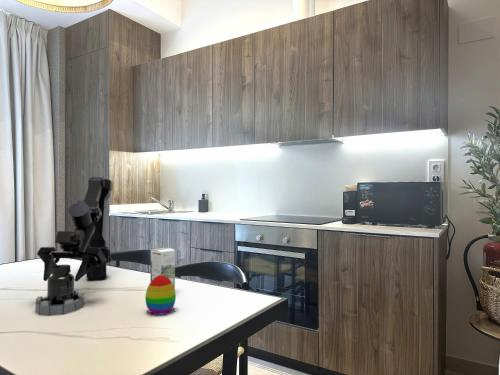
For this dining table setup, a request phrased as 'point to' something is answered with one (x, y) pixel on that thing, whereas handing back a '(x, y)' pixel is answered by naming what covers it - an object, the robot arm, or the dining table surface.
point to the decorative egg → (160, 295)
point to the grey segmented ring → (59, 305)
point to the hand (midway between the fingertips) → (60, 280)
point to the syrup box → (163, 263)
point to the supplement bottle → (60, 284)
